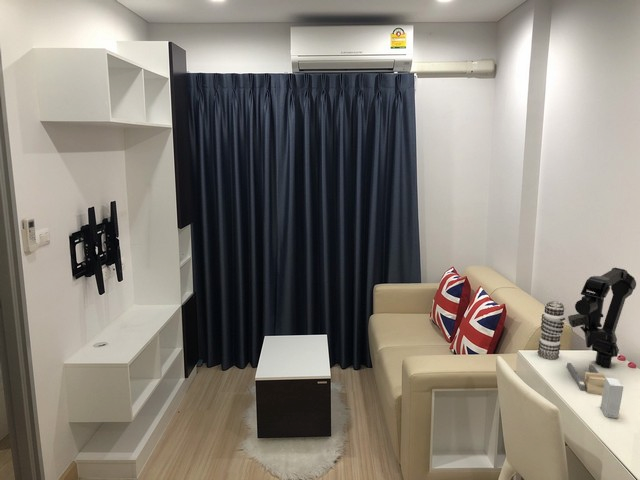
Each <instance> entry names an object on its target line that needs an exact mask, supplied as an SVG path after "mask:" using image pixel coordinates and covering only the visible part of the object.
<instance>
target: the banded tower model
mask: <svg viewBox="0 0 640 480" xmlns="http://www.w3.org/2000/svg"><path fill="white" fill-rule="evenodd" d="M565 309H566V306H564V304H563V303H562V302H560V301H554V300H550V301H547V302H546V303H545V304H544V310H543V313H542V314H541V322H540V325H541V326H540V332H541V336H540V338H539V340H538V341H539V343H538V348H537V350H538V351H537V356H539V357H541V358H543V359H546V360H557V359H559V357H560V350H561V336H562V334H563V330H562V329H564V325H565V320H566V318H565V314H564V313H565Z"/></svg>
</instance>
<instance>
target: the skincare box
mask: <svg viewBox="0 0 640 480" xmlns="http://www.w3.org/2000/svg"><path fill="white" fill-rule="evenodd" d="M623 392H624V385H623V384H622V382H620V380H619V379H618V378H613V377H605V383H604V389H603V395H602V396H601V401H600V410H601V412H602V413H603V415H604V416H605V418H606V417H607V418H614V419H619V415H620V409H621V403H622V398H623Z"/></svg>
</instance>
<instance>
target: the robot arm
mask: <svg viewBox="0 0 640 480" xmlns="http://www.w3.org/2000/svg"><path fill="white" fill-rule="evenodd" d="M636 287H637V281H636V279H635V277H634V276H632V275H631V274H629V273H628V270H626V269H625V268H621V267H620V268H619V267H612V268H611V270H609V271H607V272H605V273H604V274H602V275H593V276H590V277H588V278H587V279H586V281H585V283H584V285H583V288H582V289H581V292H580V295H581V299H579V300H578V301H576V303H575V304H574V309H575V311H576V314H571V315H568V316H567V319H568V323H569V325H570V326H571V328H577V327H579V328H580V329H581V330H582V332H583V333H584V338H585V339H584V340H585V345H586V347H587V349H589V348H591V350H592V351H593V352H596V355H595V361H594V363H595V364H596V365H597V366H599V367H600V368H604V369H610V368H611V365H612V360H613V358H616V357H617V358H618V354H619V351H620V348H619V346H618V344H617V341H618V338H617V335H616V329H617V327H618V323H619V321H620V317H621V314H622V311H623V308H624V305H625V301H626V299H627V298H628V297H630V296H631V295H632V294H633V291H635V289H636ZM610 290H611V293H612V297H611V300H610V303H609V306H608V310H607V312H606V316H605V319H604V322H603V325H602V323H601V320H602V318H604V314H603V307H604V300H605V298H606V297H607V295H608V293H609V292H610Z"/></svg>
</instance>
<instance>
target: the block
mask: <svg viewBox="0 0 640 480" xmlns="http://www.w3.org/2000/svg"><path fill="white" fill-rule="evenodd" d="M605 378H606V376H605V375H604V373H600V372H598V373H591V372H590V371H589V372H588V371H585V375H584V380H583V382H584V384H585V391H586V393H587V394H594V395H603V389H604V383H605Z"/></svg>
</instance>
